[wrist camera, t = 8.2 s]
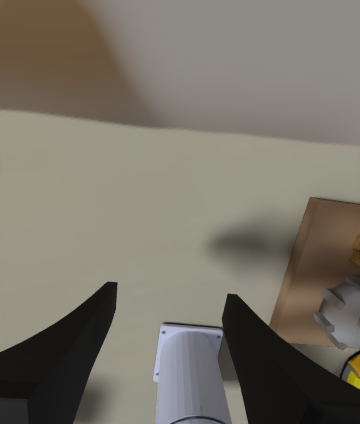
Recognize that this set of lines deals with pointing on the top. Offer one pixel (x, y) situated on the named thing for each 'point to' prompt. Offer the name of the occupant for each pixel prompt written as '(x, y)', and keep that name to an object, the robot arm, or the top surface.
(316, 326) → the gear board
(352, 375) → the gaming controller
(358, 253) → the wooden gear
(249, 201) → the top surface
